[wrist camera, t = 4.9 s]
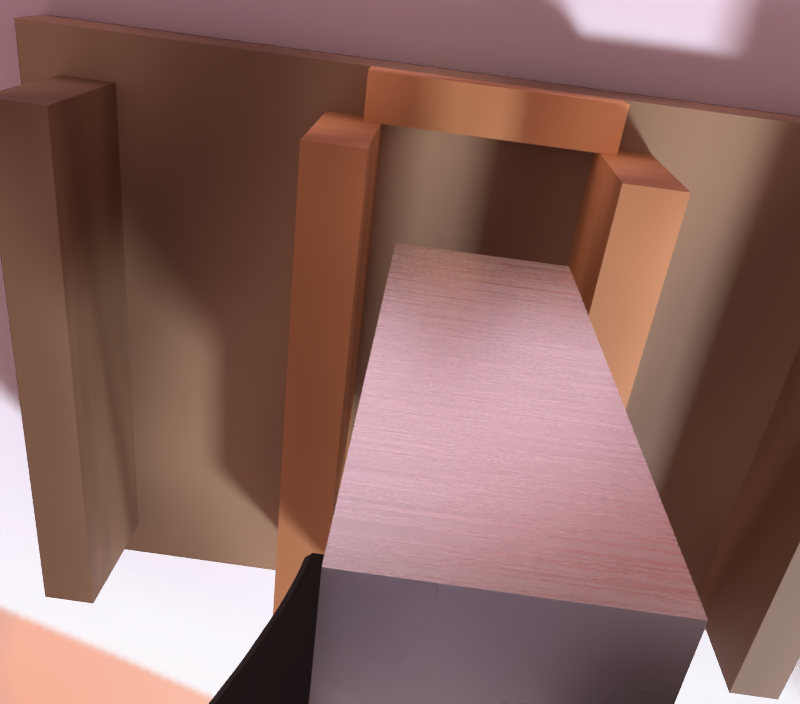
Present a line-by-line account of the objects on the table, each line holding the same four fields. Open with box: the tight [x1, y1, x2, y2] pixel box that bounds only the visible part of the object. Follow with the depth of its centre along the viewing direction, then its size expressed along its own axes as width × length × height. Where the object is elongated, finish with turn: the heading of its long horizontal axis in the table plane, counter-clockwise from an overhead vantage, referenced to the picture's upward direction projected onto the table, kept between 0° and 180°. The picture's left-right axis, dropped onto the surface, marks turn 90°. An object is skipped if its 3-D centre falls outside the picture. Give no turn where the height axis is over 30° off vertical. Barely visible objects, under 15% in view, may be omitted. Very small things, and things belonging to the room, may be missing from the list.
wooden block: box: [309, 243, 708, 704], centre depth 11 cm, size 9×3×8 cm, turn 173°
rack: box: [0, 15, 800, 699], centre depth 18 cm, size 20×14×4 cm
